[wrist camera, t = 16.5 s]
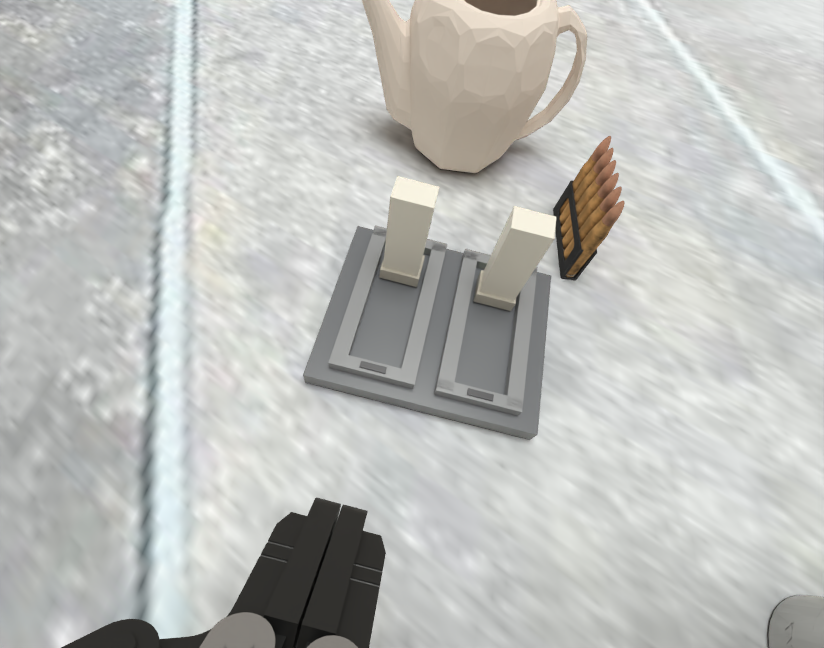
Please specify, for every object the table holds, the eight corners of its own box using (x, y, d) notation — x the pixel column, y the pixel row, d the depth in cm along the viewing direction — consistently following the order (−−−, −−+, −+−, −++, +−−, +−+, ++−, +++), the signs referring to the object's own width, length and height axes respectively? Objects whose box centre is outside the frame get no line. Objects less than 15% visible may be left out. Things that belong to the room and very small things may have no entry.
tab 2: (513, 287, 47) (558, 214, 36) (510, 311, 45) (556, 242, 35) (477, 277, 47) (512, 202, 36) (473, 301, 45) (508, 229, 35)
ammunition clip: (553, 208, 56) (600, 128, 45) (567, 210, 56) (617, 131, 45) (560, 278, 51) (615, 207, 40) (576, 280, 51) (634, 210, 40)
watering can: (353, 92, 61) (353, -79, 45) (537, 116, 64) (602, -37, 47) (340, 173, 54) (335, 6, 37) (548, 197, 56) (630, 50, 40)
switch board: (544, 285, 50) (556, 268, 47) (529, 439, 42) (543, 431, 39) (357, 237, 50) (357, 217, 47) (305, 382, 42) (301, 369, 38)
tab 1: (422, 264, 47) (442, 184, 36) (416, 287, 45) (435, 211, 35) (386, 254, 46) (395, 172, 36) (379, 277, 45) (387, 199, 35)
